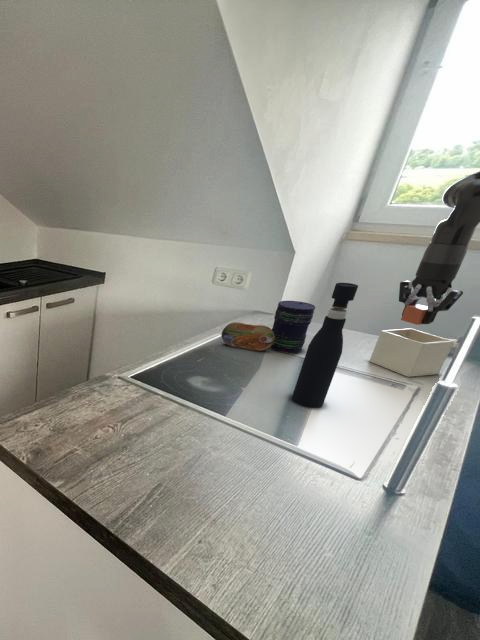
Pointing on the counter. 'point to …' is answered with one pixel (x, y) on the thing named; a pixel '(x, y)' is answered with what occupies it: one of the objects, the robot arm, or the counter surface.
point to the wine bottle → (324, 351)
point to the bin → (411, 352)
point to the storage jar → (291, 325)
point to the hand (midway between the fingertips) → (415, 320)
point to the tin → (248, 336)
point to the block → (414, 314)
